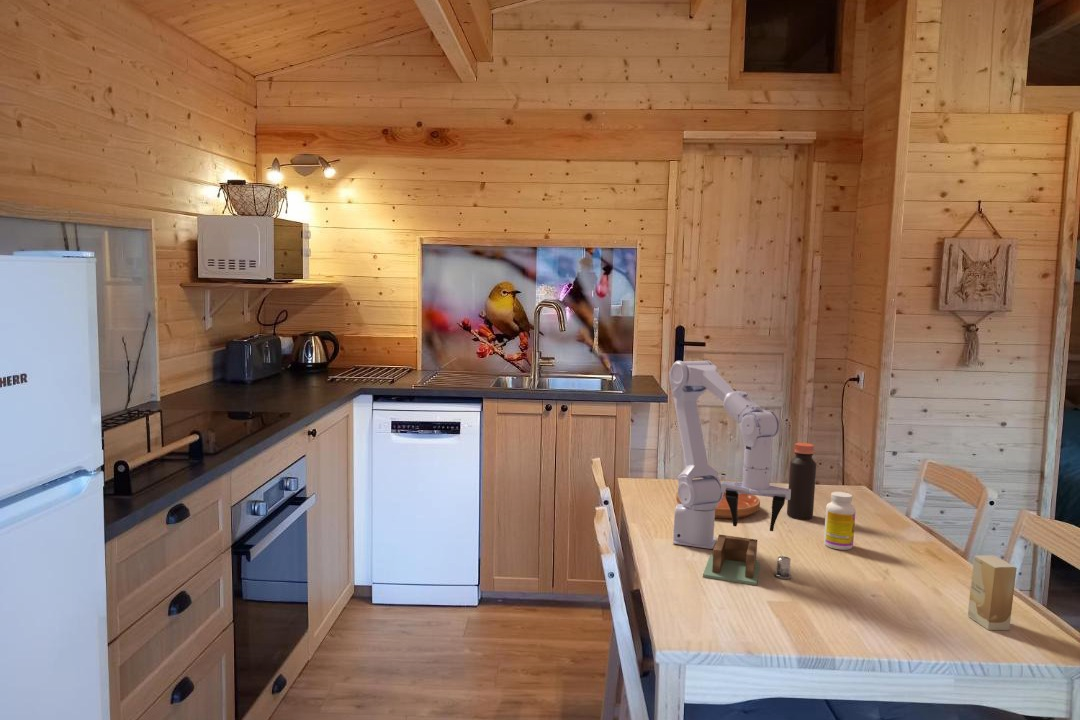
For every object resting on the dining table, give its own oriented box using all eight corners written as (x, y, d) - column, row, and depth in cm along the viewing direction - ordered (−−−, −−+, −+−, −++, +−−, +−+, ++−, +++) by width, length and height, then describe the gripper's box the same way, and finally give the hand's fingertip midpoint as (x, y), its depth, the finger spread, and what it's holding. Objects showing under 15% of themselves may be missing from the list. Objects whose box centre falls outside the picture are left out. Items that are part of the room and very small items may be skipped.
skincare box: (966, 616, 143) (971, 554, 142) (987, 615, 144) (993, 554, 142) (989, 631, 137) (995, 566, 136) (1011, 631, 137) (1017, 566, 136)
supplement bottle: (855, 552, 177) (859, 499, 176) (826, 549, 179) (829, 496, 178) (849, 542, 184) (853, 491, 183) (821, 540, 185) (824, 489, 184)
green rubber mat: (702, 577, 159) (702, 574, 159) (710, 557, 171) (710, 554, 171) (756, 585, 155) (756, 582, 155) (760, 564, 167) (760, 561, 167)
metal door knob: (774, 578, 159) (775, 559, 159) (774, 572, 163) (776, 554, 162) (791, 580, 158) (792, 562, 158) (791, 574, 162) (792, 557, 161)
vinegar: (815, 515, 206) (820, 444, 204) (809, 521, 200) (814, 448, 198) (790, 511, 210) (794, 440, 208) (783, 516, 204) (788, 444, 202)
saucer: (759, 525, 196) (760, 511, 196) (671, 515, 203) (672, 502, 202) (759, 502, 218) (760, 490, 218) (680, 494, 225) (680, 482, 224)
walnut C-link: (712, 572, 160) (713, 549, 160) (717, 555, 170) (719, 534, 170) (752, 578, 157) (754, 555, 157) (756, 561, 167) (757, 539, 167)
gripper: (720, 466, 161) (717, 528, 162) (791, 474, 156) (787, 537, 157) (724, 459, 167) (720, 519, 169) (792, 467, 162) (788, 527, 164)
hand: (753, 527), depth 163 cm, fingers open, 7 cm apart
